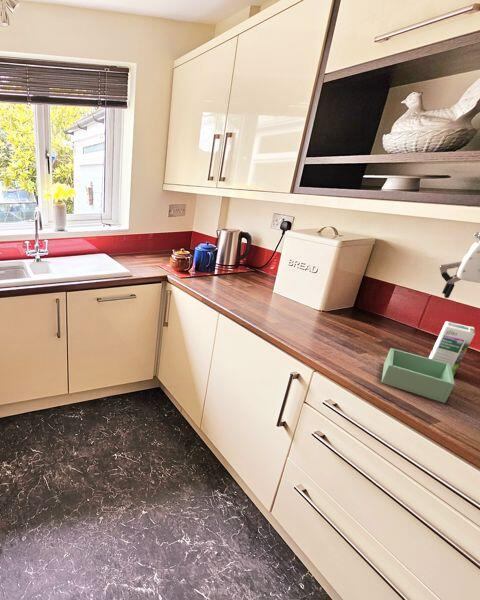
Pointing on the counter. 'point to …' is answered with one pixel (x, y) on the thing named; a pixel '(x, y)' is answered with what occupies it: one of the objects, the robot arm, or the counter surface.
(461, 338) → the syrup box
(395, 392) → the counter surface
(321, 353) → the counter surface
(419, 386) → the bin
